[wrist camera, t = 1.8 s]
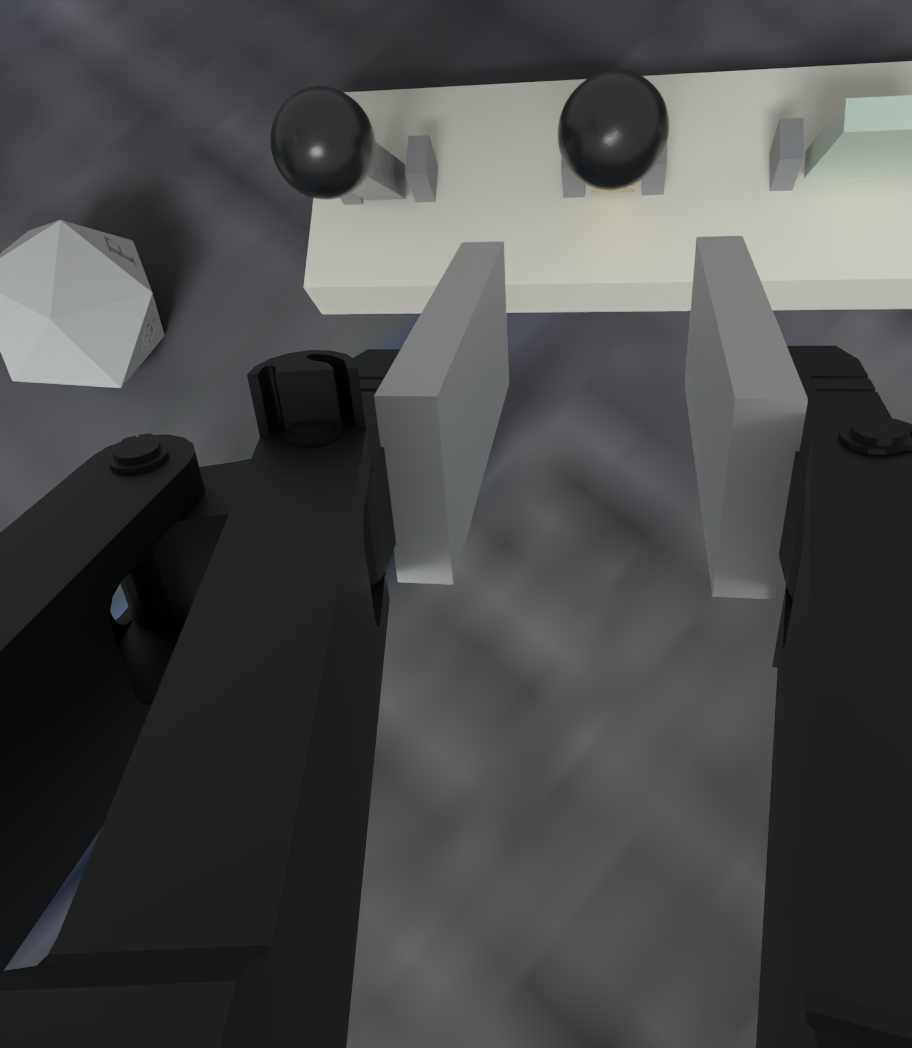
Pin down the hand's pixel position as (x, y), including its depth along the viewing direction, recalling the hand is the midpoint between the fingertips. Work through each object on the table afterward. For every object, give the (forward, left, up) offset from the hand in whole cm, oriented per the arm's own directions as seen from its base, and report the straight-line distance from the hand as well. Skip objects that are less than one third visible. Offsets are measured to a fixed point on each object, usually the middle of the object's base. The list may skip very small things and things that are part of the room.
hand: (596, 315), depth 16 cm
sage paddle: (-1, +21, -23) cm, 31 cm away
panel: (-10, +15, -26) cm, 32 cm away
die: (-28, -6, -26) cm, 39 cm away
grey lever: (-19, +9, -23) cm, 31 cm away
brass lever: (-10, +15, -22) cm, 28 cm away
